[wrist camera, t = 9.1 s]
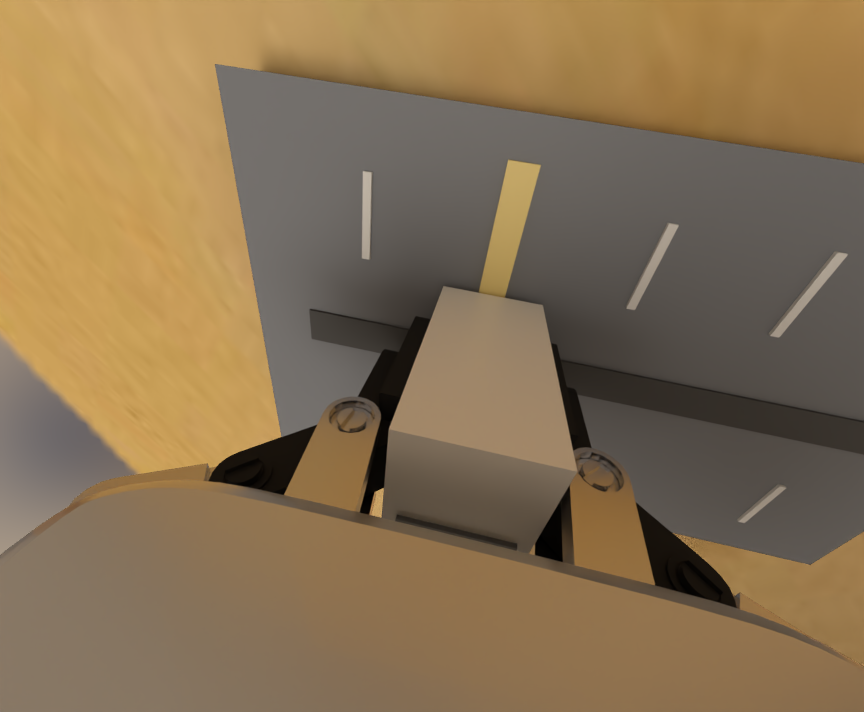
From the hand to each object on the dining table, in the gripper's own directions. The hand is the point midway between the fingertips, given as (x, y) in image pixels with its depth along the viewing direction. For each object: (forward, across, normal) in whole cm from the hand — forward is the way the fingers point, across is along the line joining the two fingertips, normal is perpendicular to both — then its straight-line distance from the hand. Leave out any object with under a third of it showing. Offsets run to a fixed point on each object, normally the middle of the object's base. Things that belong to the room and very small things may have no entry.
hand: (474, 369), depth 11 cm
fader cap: (0, 0, 0) cm, 0 cm away
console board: (+3, -4, 0) cm, 5 cm away
